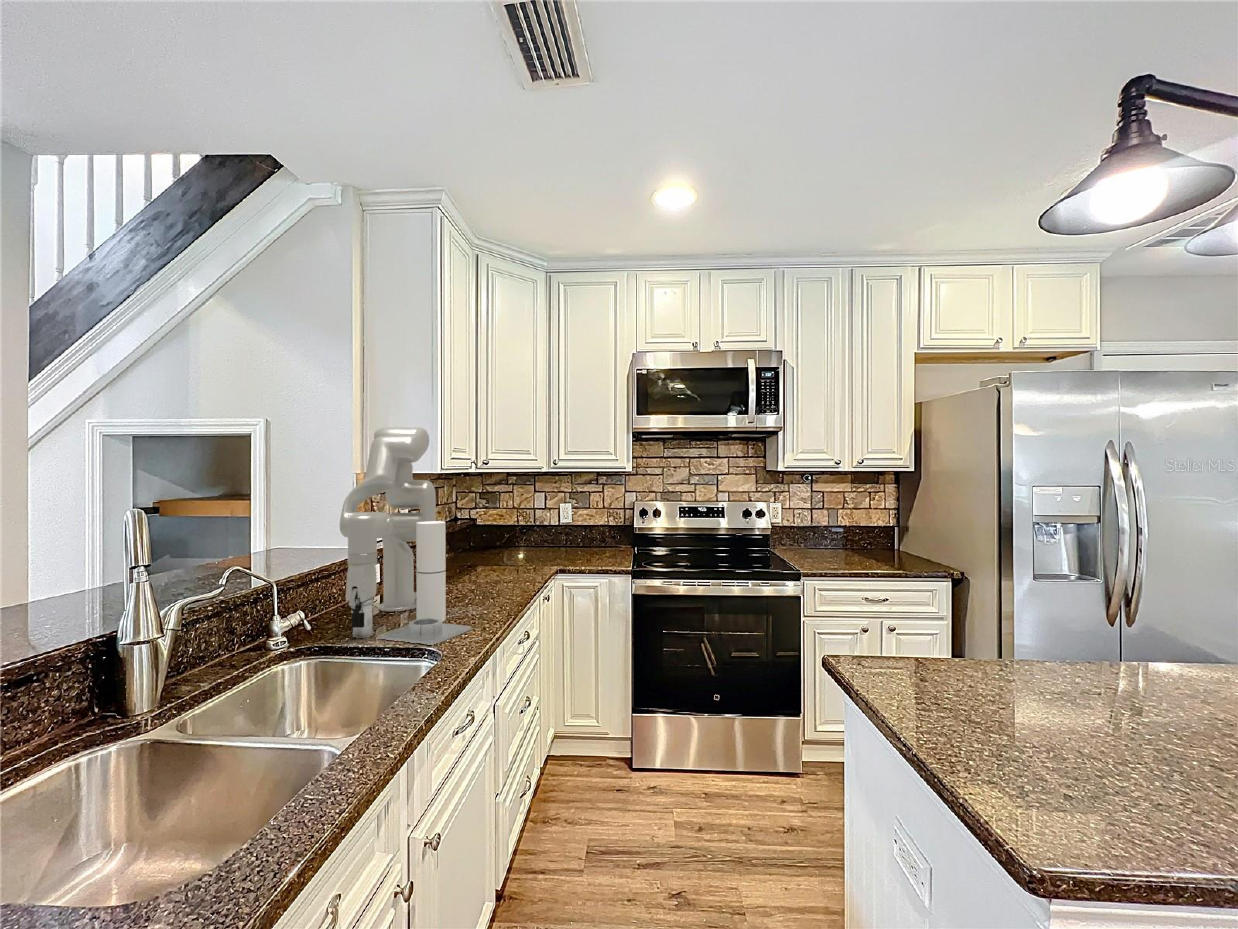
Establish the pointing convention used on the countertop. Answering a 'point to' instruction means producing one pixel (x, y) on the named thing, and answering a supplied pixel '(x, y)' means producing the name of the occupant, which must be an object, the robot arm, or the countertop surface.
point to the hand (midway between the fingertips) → (362, 624)
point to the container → (431, 569)
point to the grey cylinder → (365, 621)
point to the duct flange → (425, 631)
